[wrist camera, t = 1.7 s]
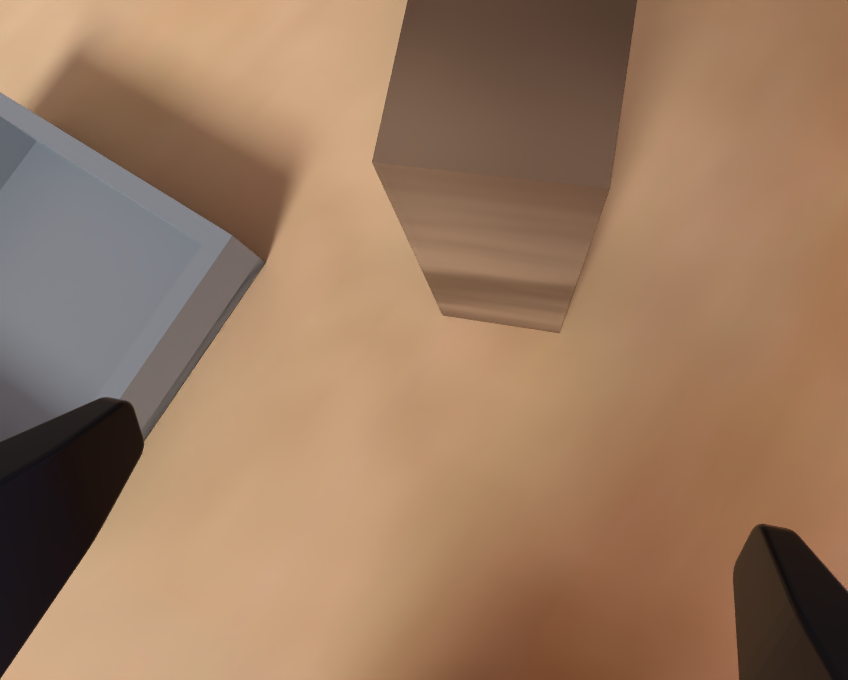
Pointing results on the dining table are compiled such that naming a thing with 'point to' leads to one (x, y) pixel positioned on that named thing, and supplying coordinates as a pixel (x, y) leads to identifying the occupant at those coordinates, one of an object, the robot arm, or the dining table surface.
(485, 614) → the dining table surface
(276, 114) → the dining table surface
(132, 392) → the tray
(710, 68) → the dining table surface
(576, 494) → the dining table surface
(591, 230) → the walnut block
